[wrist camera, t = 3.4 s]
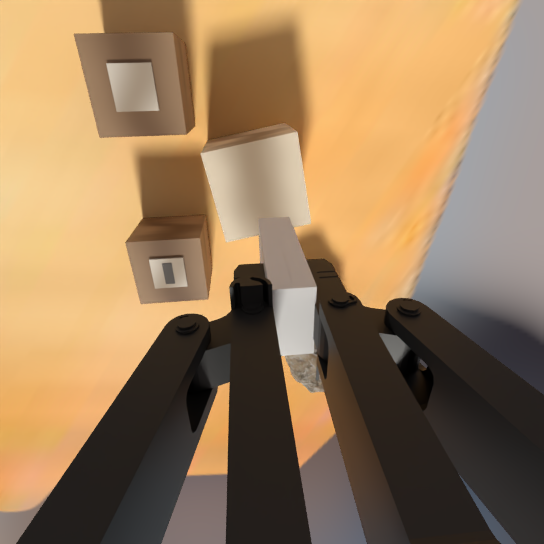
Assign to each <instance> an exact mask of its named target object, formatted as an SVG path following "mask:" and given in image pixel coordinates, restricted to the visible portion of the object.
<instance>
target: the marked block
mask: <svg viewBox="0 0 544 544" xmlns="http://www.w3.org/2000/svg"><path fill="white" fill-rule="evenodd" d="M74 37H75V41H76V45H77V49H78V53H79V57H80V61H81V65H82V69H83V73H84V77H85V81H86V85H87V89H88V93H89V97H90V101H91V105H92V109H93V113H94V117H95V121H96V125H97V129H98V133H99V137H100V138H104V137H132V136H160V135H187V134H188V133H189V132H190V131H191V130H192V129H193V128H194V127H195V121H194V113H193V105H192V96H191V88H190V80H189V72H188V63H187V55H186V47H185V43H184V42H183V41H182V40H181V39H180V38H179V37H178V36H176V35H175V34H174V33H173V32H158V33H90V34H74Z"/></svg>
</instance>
